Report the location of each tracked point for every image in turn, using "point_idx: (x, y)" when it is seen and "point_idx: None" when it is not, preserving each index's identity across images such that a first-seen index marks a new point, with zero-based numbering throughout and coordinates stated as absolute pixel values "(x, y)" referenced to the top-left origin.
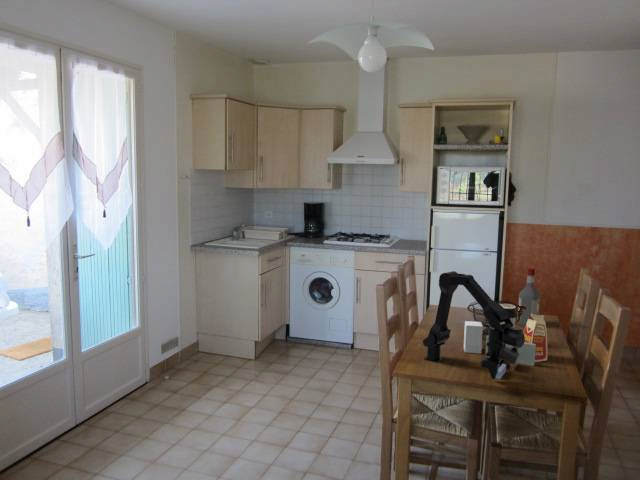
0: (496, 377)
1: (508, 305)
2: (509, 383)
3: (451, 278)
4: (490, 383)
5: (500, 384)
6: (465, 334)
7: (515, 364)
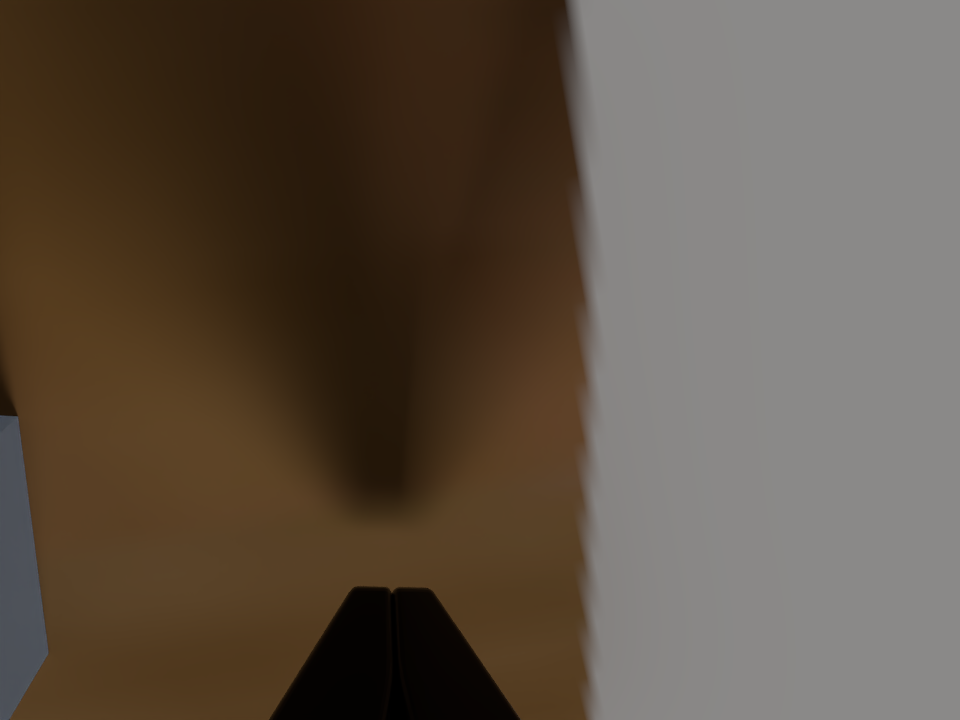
0: (24, 553)
1: None
2: (266, 25)
3: None
4: (582, 593)
5: (537, 338)
6: None
7: None
